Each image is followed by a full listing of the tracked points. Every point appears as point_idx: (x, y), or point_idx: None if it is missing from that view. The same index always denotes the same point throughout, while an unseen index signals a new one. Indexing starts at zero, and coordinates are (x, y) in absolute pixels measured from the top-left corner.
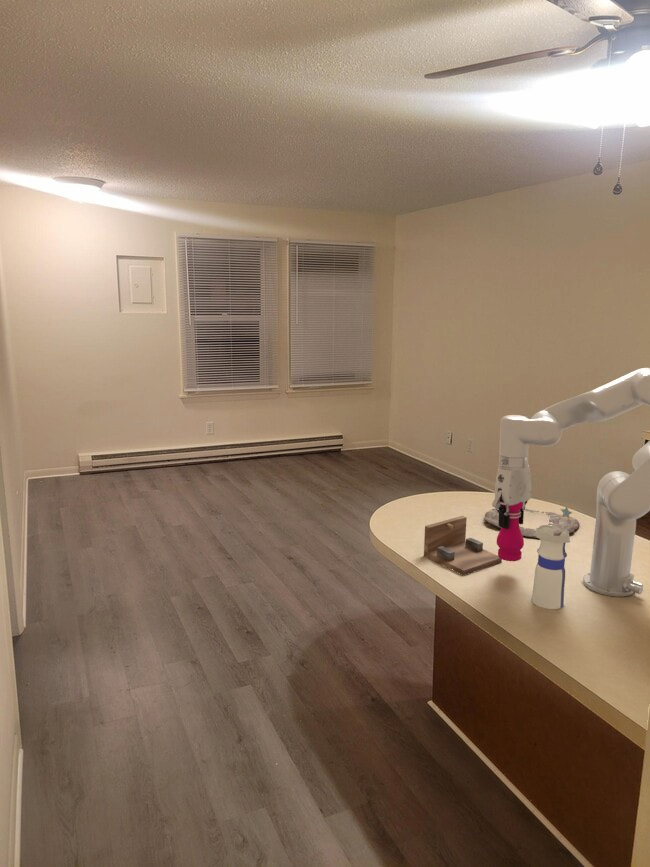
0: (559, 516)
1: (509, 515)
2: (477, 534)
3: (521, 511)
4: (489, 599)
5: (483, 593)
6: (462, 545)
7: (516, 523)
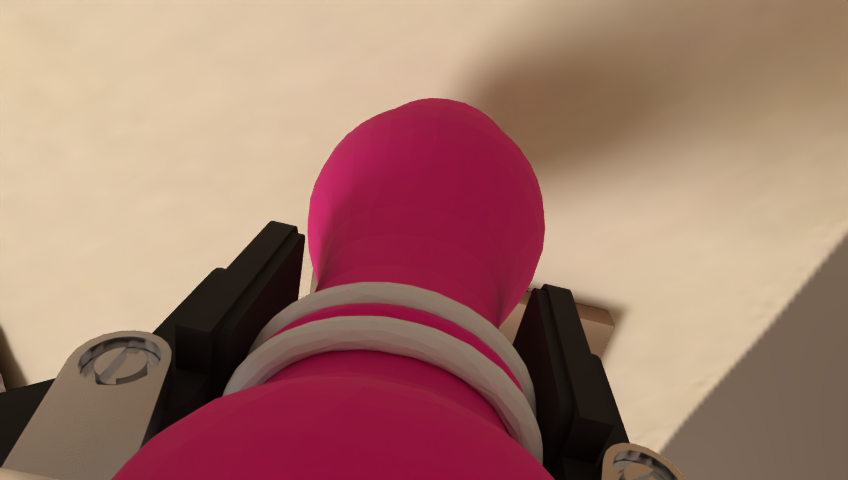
0: None
1: (587, 415)
2: None
3: (224, 342)
4: (819, 82)
5: (758, 144)
6: None
7: (429, 261)
